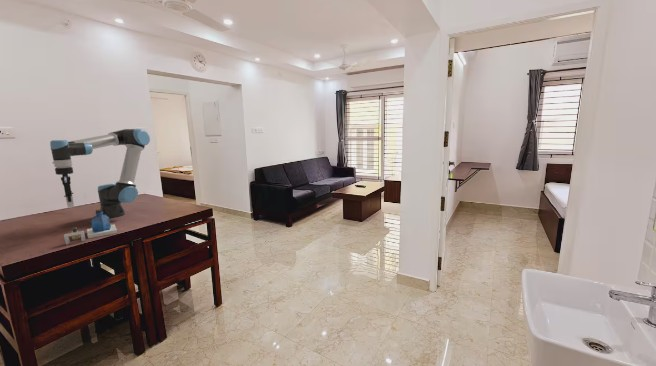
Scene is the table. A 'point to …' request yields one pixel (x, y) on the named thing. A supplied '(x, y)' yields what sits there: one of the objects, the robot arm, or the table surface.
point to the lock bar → (75, 235)
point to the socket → (101, 232)
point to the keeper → (72, 235)
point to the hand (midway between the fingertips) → (70, 206)
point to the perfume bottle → (100, 221)
